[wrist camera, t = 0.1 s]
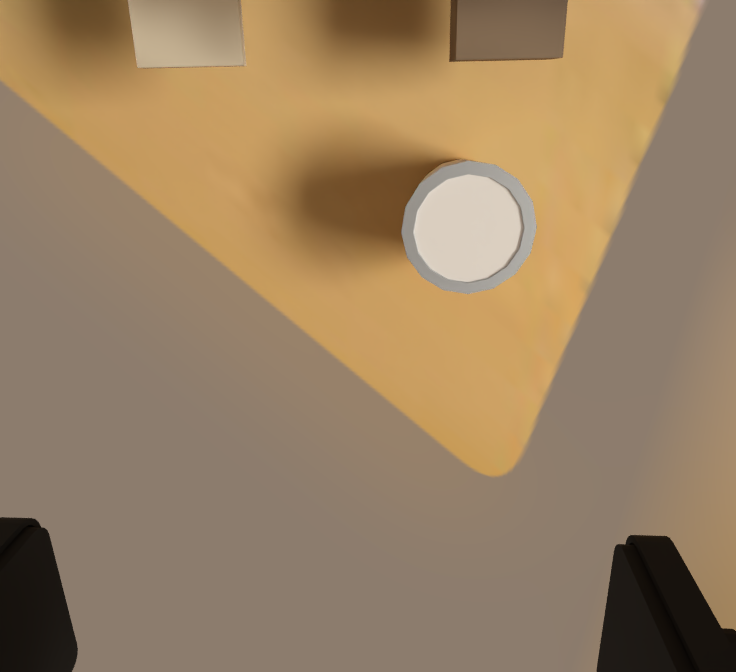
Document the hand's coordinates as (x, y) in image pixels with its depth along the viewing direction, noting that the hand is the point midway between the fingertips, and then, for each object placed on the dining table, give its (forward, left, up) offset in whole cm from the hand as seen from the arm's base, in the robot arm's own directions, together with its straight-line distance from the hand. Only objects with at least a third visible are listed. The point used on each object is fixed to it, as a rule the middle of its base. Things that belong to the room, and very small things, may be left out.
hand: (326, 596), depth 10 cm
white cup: (-1, +4, -31) cm, 32 cm away
